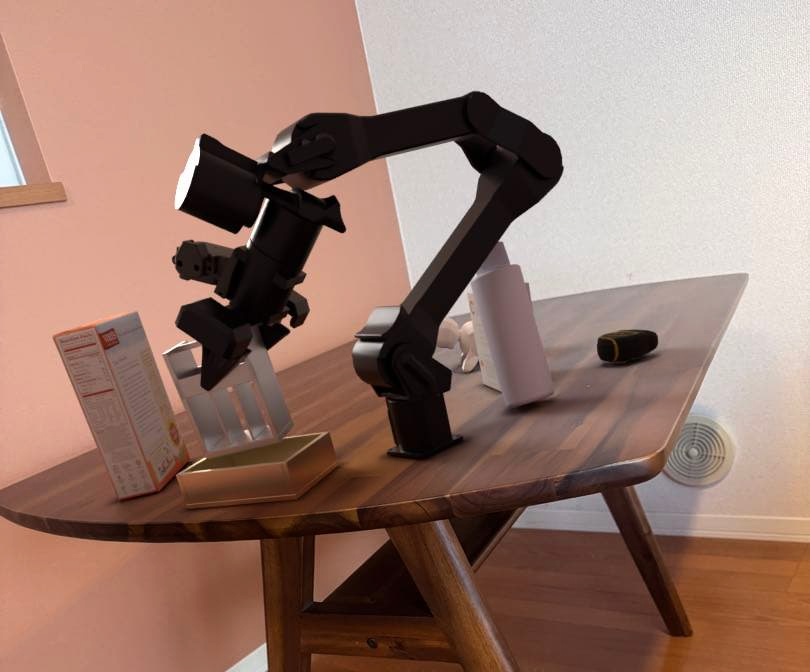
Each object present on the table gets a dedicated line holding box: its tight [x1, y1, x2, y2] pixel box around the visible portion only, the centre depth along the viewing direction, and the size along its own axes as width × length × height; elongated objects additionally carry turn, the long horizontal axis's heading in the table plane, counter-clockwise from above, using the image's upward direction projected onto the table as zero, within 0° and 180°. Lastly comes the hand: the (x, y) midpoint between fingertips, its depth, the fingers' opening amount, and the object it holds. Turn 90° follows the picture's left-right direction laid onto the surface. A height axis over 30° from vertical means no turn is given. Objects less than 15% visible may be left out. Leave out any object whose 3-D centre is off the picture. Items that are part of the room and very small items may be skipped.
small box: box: [466, 281, 534, 393], centre depth 105 cm, size 8×6×13 cm
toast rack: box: [161, 326, 295, 459], centre depth 83 cm, size 9×5×12 cm, turn 80°
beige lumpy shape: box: [436, 316, 479, 374], centre depth 123 cm, size 9×8×15 cm
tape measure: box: [596, 329, 659, 365], centre depth 103 cm, size 7×7×4 cm
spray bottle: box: [469, 240, 556, 409], centre depth 91 cm, size 6×6×22 cm
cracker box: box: [52, 310, 191, 501], centre depth 98 cm, size 14×6×21 cm, turn 178°
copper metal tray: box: [175, 430, 339, 510], centre depth 86 cm, size 14×10×4 cm
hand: (218, 381), depth 83 cm, fingers closed on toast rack, 6 cm apart
